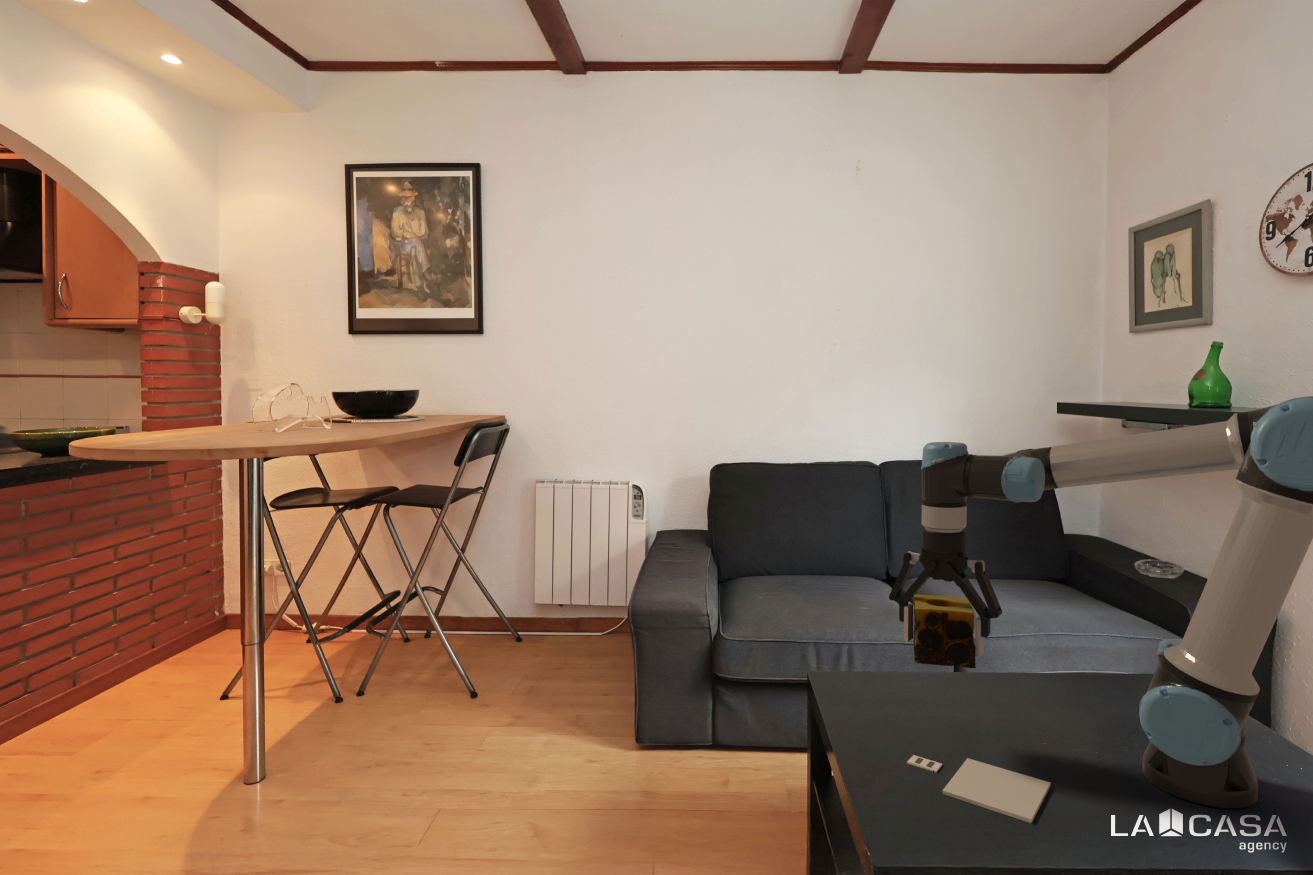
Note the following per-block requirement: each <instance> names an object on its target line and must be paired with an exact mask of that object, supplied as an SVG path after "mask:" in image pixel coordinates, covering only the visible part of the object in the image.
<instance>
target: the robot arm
mask: <svg viewBox="0 0 1313 875" xmlns="http://www.w3.org/2000/svg"><path fill="white" fill-rule="evenodd" d="M921 457H922V460H921V466H920V470H921V525H922V526H923V528H922V529H921V552H920V553H917V552H915V551H914V550H909V551H906V552H905V553H903V560H902V561H903V563H902V566H901V568H900V571H899V573H898V575H897V577H896V580H895V581H894V584H893V586H892V588H891V591H890V592H889V595H888V599H889V600H890V601H893V602H896V603H897V604H898V608H899V609H898V619H899V622H900V623H903V642H907V643H908V642H910V641H911V640H914V603H910V601H911V600H912V599H913V598H914V595H917V593H918V591H920V589H921V588H922V587H923V586H924V585H925V583H927V581H928V580H929V579H930V578H931V579H932V580H934V581H936V580H937V581H939V580H940V581H941V580H943V581H945V582H949V583H950V582H954V583H955V585H956V586H957V587H958V588H960V590H961V591H962V594H964V596H965V598H967V599H968V600H969V602H970V604H971V606H972V608H973V610H975V612H976V614H978V616H977V618H975V620H974V630H975V634H974V635H975V638H974V643H975V657H978V658H979V657H980V658H981V656H982V655H983V654H984V653H985V638H987V639H988V637H990V635H991V619H997V618H999V617H1000V616H1001V615H1002V614H1003V609H1002V607H1001V605H1000V602H999V599H998V598H997V595H996V593H995V590H994V587H993V585H992V583H991V581H990V578H989V576H988V573H987V562H986V561H985V559H982V558H981V559H979V560H974V559H969V558H968V555H967V531H966V530H965V528H966V527H967V522H968V521H967V519H968V518H967V516H968V515H967V512H968V511H967V510H968V508H967V507H968V501H967V499H968V498H970V499H975V498H976V499H983V500H984V499H985V500H996V501H997V500H998V501H1008V502H1013V503H1020V502H1021V503H1035V502H1038V501H1039V500H1040V499H1041V498H1042V495H1043V493H1044V491H1048V490H1057V489H1063V488H1072V487H1081V486H1091V485H1102V484H1110V483H1111V484H1112V483H1121V482H1128V481H1129V482H1130V481H1138V480H1148V479H1157V478H1166V477H1176V476H1177V477H1178V476H1187V475H1194V474H1195V475H1196V474H1204V473H1205V474H1206V473H1214V472H1216V473H1217V472H1223V471H1233V470H1238V472H1237V473H1236V476H1235V480H1234V481H1235V483H1236V484H1237V486H1238V487H1239V489H1240V491H1241V493H1242V496H1241V500H1240V502H1239V505H1238V507H1237V510H1236V512H1235V514H1234V517H1233V519H1232V521H1231V524H1230V525H1229V528H1228V531H1227V533H1226V536H1225V538H1224V539H1223V543H1222V545H1221V547H1220V550H1219V552H1218V555H1217V556H1216V559H1215V562H1214V564H1213V567H1212V569H1211V571H1210V574H1209V576H1208V578H1207V581H1206V582H1205V585H1204V588H1203V590H1202V592H1201V595H1200V598H1199V600H1198V602H1197V604H1196V607H1195V609H1194V611H1193V614H1192V616H1191V619H1190V621H1189V623H1188V626H1187V629H1186V631H1185V633H1184V636H1183V638H1167V639H1163V640H1161V641H1160V642H1159V644H1158V648H1157V652H1156V656H1157V658H1158V659H1157V666H1156V670H1155V672H1154V674H1153V675H1152V676H1153V677H1152V679H1151V680H1150V683H1149V686H1148V688H1147V690H1146V693H1145V694H1144V695H1143V696H1142V697H1141V699H1140V701H1139V705H1138V706H1139V707H1138V710H1139V714H1138V715H1139V716H1138V717H1139V721H1140V727H1141V729H1142V731H1144V734H1145V735H1146V737H1147V738H1148V740H1149V741H1148V745H1147V747H1146V748H1145V750H1144V753H1143V755H1142V765H1141V766H1142V767H1141V768H1142V774H1143V775H1144V776H1145V777H1144V778H1146V779H1147V780H1148V782H1150V783H1151V784H1153V785H1154V786H1156V787H1157V788H1158V789H1160V790H1163V792H1166V793H1168V794H1169V795H1173V796H1175V797H1177V798H1180V799H1182V800H1185V801H1189V802H1191V803H1195V804H1200V805H1203V806H1207V807H1214V808H1220V809H1221V808H1222V809H1242V808H1243V809H1245V808H1248V807H1251V806H1253V805H1255V804H1256V803H1257V802H1258V798H1259V783H1258V780H1257V777H1256V773H1255V771H1254V768H1253V765H1252V763H1251V759H1250V757H1249V754H1248V751H1247V749H1246V748H1247V747H1246V733H1247V731H1246V730H1247V719H1248V717H1249V715H1250V712H1251V710H1252V708H1253V706H1254V704H1255V701H1256V699H1257V697H1258V694H1259V693H1260V689H1261V688H1260V686H1259V684H1258V682H1257V681H1256V679H1255V677H1254V676H1253V671H1254V670H1255V667H1256V665H1257V663H1258V660H1259V658H1260V656H1261V653H1262V651H1263V650H1264V648H1265V647H1264V646H1266V645H1265V644H1266V643H1267V640H1268V639H1269V636H1270V633H1271V632H1272V629H1273V628H1274V627H1273V626H1274V625H1275V623H1276V620H1277V618H1278V615H1279V614H1280V611H1281V610H1282V608H1283V604H1284V603H1285V600H1286V598H1287V596H1288V594H1289V591H1291V590H1290V589H1291V587H1292V585H1293V583H1294V580H1295V578H1296V576H1297V574H1298V572H1299V569H1300V567H1301V565H1302V563H1303V561H1304V558H1305V556H1306V554H1307V552H1308V550H1309V548H1310V545H1311V543H1312V540H1313V395H1312V396H1311V395H1310V396H1309V395H1308V396H1307V395H1306V396H1302V397H1294V398H1290V399H1287V400H1284V401H1282V402H1280V403H1277V404H1274V405H1270V406H1267V407H1263V408H1259V409H1253V410H1248V411H1243V412H1236V413H1233V414H1232V416H1230V418H1229V419H1227V420H1225V421H1217V422H1211V423H1205V424H1199V425H1192V426H1184V427H1177V428H1171V429H1164V430H1163V429H1162V430H1156V431H1155V430H1154V431H1150V432H1149V431H1148V432H1143V433H1136V434H1128V435H1123V436H1116V437H1108V438H1101V439H1095V440H1088V441H1082V442H1080V441H1079V442H1073V443H1066V444H1061V445H1054V446H1046V447H1039V448H1026V449H1020V450H1017V451H1015V452H1012V453H1007V454H1003V455H979V454H978V455H977V454H972V453H969V451H968V446H967V444H966V443H964V442H957V441H936V442H935V441H934V442H933V441H932V442H928V443H926V444H925V445H924V446H923V448H922V456H921ZM918 561H919V562H920V564H921V566H923V568H924V569H923V571H922V572H921V573H920V574H919V575H918V577H917V578H916V579H915V581H913V583H912V584H911V585H910V586H909V588H908V589H907V590H906V591H905V592H904V593H903V594H902V592H903V590H904V588H905V585H906V584H907V581H908V579H909V577H910V574H911V573H912V570H913V568H914V565H916V564H917V563H918ZM968 568H969V569H970V570H971V572H972V573H974V575H975V579H976V581H977V584H978V586H979V589H980V592H981V593H982V595H983V599H984V600H983V599H982V597H981V596H980V594H979V593H978V591H977V590H976V589H975V587H974V585H973V584H972V583H971V582H970V578H969V577H968V575H967V574H966V572H965V571H966V569H968ZM984 601H985V602H984Z"/></svg>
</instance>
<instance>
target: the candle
mask: <svg viewBox="0 0 1313 875" xmlns="http://www.w3.org/2000/svg"><path fill="white" fill-rule="evenodd" d="M974 610H975V609H974V608H973V606H972V605H971V603H970V602H969V600H968V599H967V597H961V596H947V595H930V594H928V595H927V594H915V595H914V596H913V639H912V640H913V655H914V658H913V662H915V663H917V664H921V665H933V666H940V667H941V666H943V667H959V668H960V667H961V668H965V669H976V664H977V663H976V656H975V638H974V630H975V619H976V618H975V611H974Z"/></svg>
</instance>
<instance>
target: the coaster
mask: <svg viewBox="0 0 1313 875" xmlns="http://www.w3.org/2000/svg"><path fill="white" fill-rule="evenodd" d="M1051 784H1052V782H1049V781H1047V780H1043V779H1039V778H1037V777H1033V776H1030V775H1026V774H1022V773H1019V772H1016V771H1013V770H1009V769H1005V768H1002V767H998V766H995V765H993V764H990V763H985V762H983V761H979V760H974V759H972V758H968V757H967V758H966V759H965V761H964V762H963V763H962V764H961V766H960V767H959V769H957V771H956V772H955V774H954V775H953V776H952V777H951V779H950V780H949V782H948V783H947V784H946V785H945V786H944V788H943V789H942V795H944V796H948V797H950V798H953V799H956V800H960V801H961V802H965V803H969V804H972V805H975V806H977V807H981V808H982V809H983V808H984V809H987V810H990V811H993V812H996V813H999V814H1002V815H1005V816H1008V817H1012V818H1014V819H1017V820H1020V821H1023V822H1026V823H1029V824H1032V823H1033V821H1034V819H1035V817H1036V815H1037V813H1038V811H1039V810H1040V807H1041V806H1042V804H1043V802H1044V800H1045V798H1046V796H1047V794H1048V792H1049V790H1050V788H1051Z"/></svg>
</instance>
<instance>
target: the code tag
mask: <svg viewBox="0 0 1313 875" xmlns="http://www.w3.org/2000/svg"><path fill="white" fill-rule="evenodd" d="M906 764H907V765H910V766H914V767H917V768H921V769H924V770H926V771H930V772H933V771H934V772H933V773H938V771H939V770H940V769H941V767H942V766H943V763H941V762H937V761H934V760H931V759H928V758H926V757H925V758H924V757H922V756H918V755H915V754H913V755H912V756H911V757H910V758H909V759H908V760H907V761H906Z"/></svg>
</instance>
